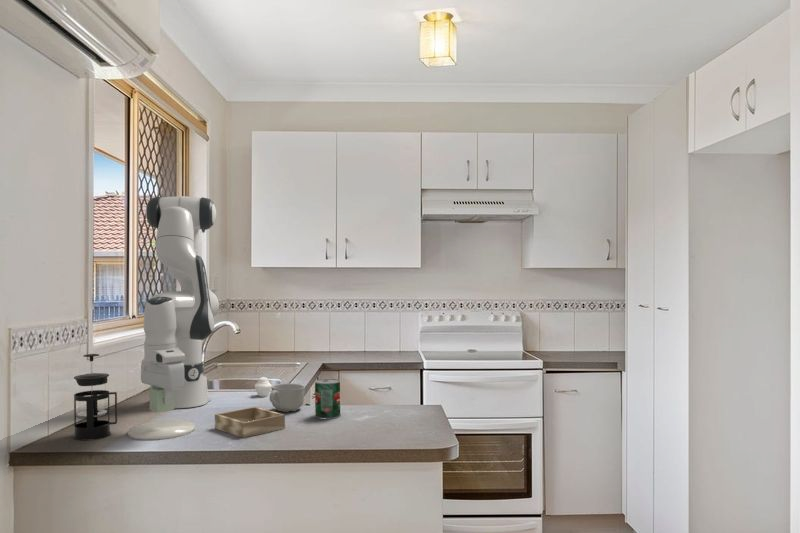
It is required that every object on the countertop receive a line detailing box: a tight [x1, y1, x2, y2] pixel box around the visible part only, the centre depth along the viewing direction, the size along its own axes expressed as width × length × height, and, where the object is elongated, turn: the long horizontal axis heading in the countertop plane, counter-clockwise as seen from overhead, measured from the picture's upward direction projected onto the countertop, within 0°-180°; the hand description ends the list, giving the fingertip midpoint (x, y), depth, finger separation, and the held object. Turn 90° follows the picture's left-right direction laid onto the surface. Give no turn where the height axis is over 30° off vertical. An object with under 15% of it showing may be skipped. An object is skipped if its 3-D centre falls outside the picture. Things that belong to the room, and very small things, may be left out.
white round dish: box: [127, 419, 196, 441], centre depth 184 cm, size 18×18×1 cm
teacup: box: [269, 383, 306, 413], centre depth 208 cm, size 14×11×8 cm
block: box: [148, 387, 175, 413], centre depth 184 cm, size 5×5×6 cm
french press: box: [73, 353, 118, 441], centre depth 180 cm, size 12×9×23 cm
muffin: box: [254, 376, 273, 398], centre depth 233 cm, size 6×6×7 cm
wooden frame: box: [214, 406, 286, 438], centre depth 186 cm, size 16×14×4 cm
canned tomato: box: [314, 378, 341, 420], centre depth 201 cm, size 8×8×11 cm
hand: (162, 402), depth 184 cm, fingers closed on block, 5 cm apart
